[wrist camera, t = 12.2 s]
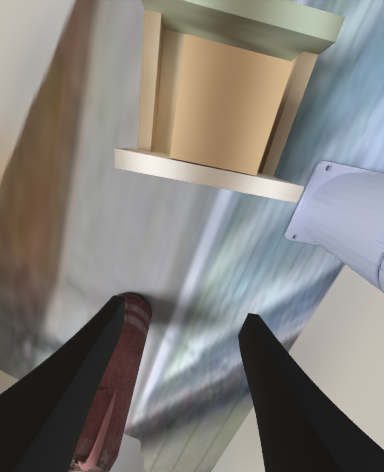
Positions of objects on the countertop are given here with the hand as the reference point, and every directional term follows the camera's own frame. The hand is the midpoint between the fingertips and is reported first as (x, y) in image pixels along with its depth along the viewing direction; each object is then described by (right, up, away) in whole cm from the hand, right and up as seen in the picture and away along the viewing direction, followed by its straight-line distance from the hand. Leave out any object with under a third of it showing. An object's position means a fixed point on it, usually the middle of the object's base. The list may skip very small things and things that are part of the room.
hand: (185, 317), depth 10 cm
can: (-8, -5, +14) cm, 17 cm away
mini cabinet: (+2, +14, +4) cm, 14 cm away
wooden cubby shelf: (+2, +15, +4) cm, 16 cm away
